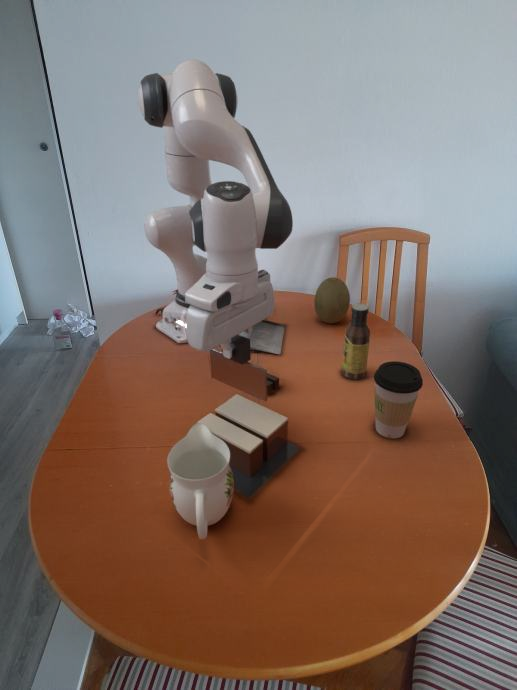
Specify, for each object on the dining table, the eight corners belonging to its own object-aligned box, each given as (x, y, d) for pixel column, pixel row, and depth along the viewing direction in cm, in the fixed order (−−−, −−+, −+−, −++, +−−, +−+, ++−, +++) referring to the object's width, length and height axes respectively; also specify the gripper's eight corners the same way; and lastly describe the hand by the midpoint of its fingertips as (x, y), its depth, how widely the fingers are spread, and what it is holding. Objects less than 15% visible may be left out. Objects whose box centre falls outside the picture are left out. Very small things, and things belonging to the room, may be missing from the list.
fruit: (314, 312, 152) (317, 270, 145) (348, 315, 150) (352, 272, 143) (311, 327, 142) (313, 283, 135) (347, 330, 140) (351, 285, 133)
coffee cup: (382, 409, 105) (390, 354, 97) (421, 428, 99) (433, 371, 91) (358, 429, 99) (365, 372, 92) (398, 450, 93) (408, 391, 85)
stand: (221, 374, 119) (220, 364, 118) (232, 367, 122) (231, 357, 121) (268, 395, 110) (268, 385, 109) (279, 387, 113) (279, 377, 112)
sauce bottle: (344, 366, 122) (350, 299, 112) (367, 370, 120) (375, 302, 110) (338, 378, 117) (345, 309, 107) (362, 383, 115) (371, 312, 105)
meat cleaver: (280, 354, 128) (280, 342, 126) (241, 352, 129) (241, 340, 127) (287, 307, 157) (288, 296, 155) (255, 306, 158) (255, 295, 156)
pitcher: (170, 565, 71) (159, 505, 64) (176, 480, 86) (168, 425, 80) (239, 558, 72) (235, 498, 65) (232, 475, 87) (229, 420, 81)
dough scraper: (208, 379, 91) (203, 329, 85) (216, 374, 92) (212, 325, 87) (262, 404, 83) (261, 351, 77) (270, 398, 85) (269, 346, 79)
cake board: (175, 453, 93) (171, 426, 89) (229, 413, 104) (228, 388, 101) (249, 500, 82) (248, 471, 78) (300, 449, 93) (301, 422, 90)
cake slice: (199, 446, 94) (196, 422, 90) (212, 436, 96) (210, 412, 93) (250, 477, 86) (249, 451, 83) (263, 465, 89) (262, 440, 86)
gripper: (256, 263, 86) (257, 327, 92) (176, 297, 72) (185, 369, 78) (282, 270, 82) (282, 336, 89) (205, 306, 68) (211, 381, 75)
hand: (236, 352), depth 84 cm, fingers closed on dough scraper, 2 cm apart
